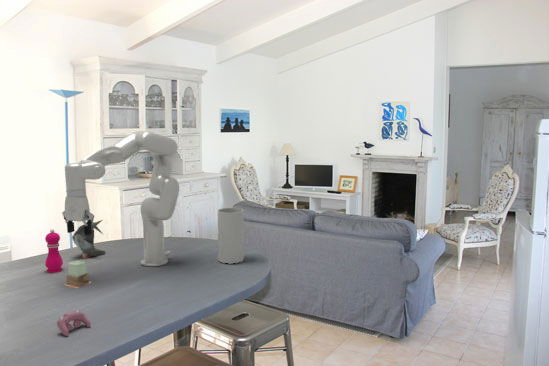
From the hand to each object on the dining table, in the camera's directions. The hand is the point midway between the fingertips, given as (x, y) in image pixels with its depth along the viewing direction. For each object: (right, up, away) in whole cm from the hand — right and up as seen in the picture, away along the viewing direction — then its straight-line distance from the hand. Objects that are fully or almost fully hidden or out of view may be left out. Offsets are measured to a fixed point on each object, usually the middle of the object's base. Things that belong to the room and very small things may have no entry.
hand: (79, 233), depth 210 cm
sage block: (0, -17, -2) cm, 17 cm away
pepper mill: (-17, -19, +15) cm, 30 cm away
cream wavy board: (-1, -21, +3) cm, 21 cm away
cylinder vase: (+60, -17, +35) cm, 72 cm away
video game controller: (+15, -28, -43) cm, 53 cm away
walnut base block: (0, -21, -2) cm, 21 cm away
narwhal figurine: (-11, -16, +40) cm, 45 cm away
